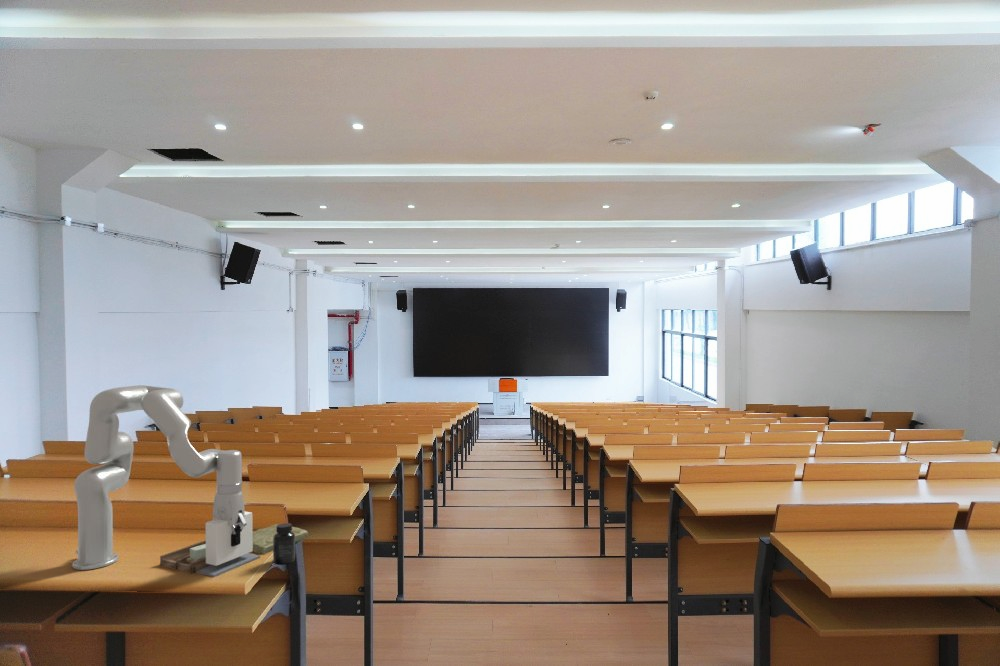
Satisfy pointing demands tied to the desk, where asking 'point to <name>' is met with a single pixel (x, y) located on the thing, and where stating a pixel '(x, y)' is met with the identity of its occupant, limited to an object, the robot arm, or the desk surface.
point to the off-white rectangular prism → (227, 540)
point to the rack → (183, 560)
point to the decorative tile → (265, 538)
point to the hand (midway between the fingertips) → (229, 543)
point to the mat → (228, 565)
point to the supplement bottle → (284, 544)
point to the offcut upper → (198, 552)
